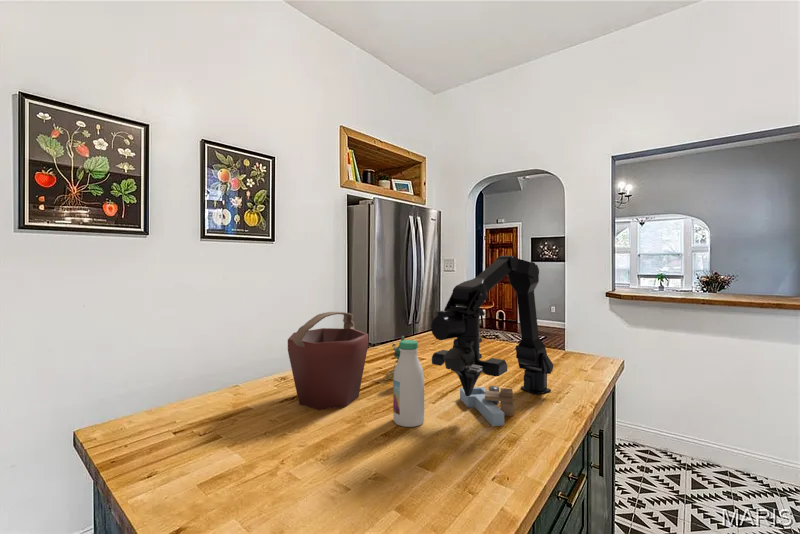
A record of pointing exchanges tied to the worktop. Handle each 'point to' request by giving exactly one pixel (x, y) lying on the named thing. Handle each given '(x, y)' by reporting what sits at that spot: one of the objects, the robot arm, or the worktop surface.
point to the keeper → (502, 399)
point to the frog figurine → (391, 372)
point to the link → (483, 405)
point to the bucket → (327, 363)
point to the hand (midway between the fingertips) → (468, 395)
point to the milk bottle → (408, 386)
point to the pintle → (495, 389)
